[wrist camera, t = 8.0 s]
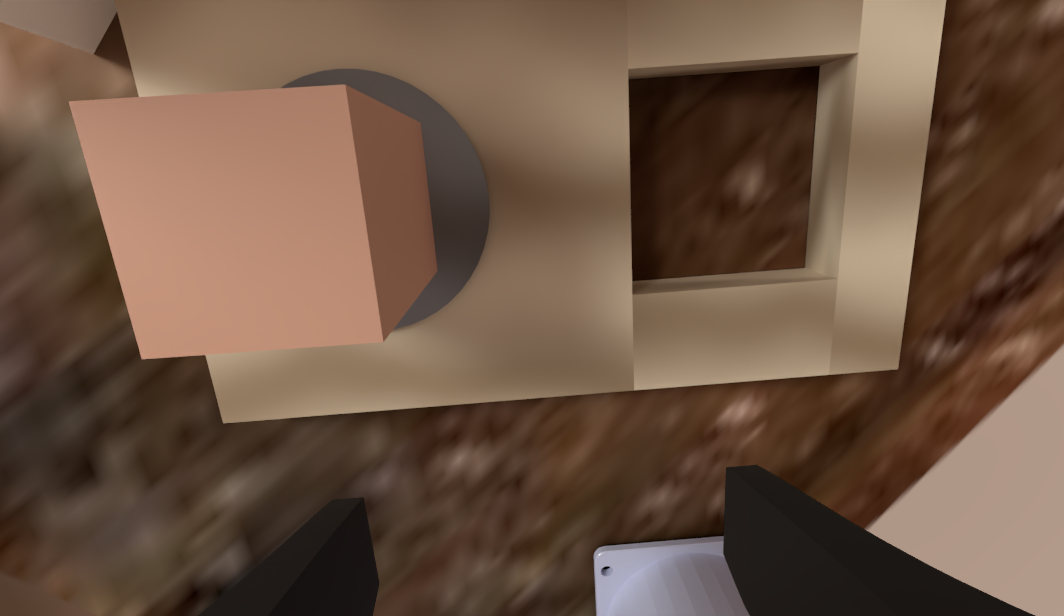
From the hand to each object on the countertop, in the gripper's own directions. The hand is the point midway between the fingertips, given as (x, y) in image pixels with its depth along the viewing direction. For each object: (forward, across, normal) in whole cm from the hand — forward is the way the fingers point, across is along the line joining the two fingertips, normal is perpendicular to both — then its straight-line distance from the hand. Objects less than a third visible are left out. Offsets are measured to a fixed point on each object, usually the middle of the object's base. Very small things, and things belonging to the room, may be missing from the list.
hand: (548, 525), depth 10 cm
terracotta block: (+8, +5, -6) cm, 11 cm away
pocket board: (+10, -1, -6) cm, 12 cm away
